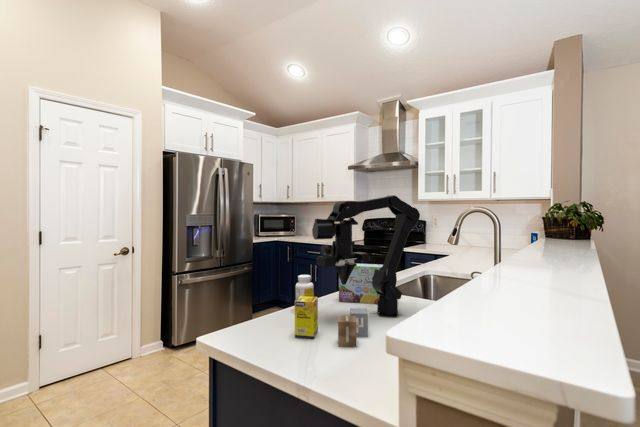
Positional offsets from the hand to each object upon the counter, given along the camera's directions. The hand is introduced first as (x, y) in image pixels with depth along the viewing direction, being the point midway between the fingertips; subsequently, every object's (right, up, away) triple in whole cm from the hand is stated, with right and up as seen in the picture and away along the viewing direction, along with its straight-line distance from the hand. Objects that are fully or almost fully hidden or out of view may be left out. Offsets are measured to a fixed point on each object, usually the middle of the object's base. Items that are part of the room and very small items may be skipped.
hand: (343, 284), depth 117 cm
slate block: (+4, -12, -12) cm, 18 cm away
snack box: (+10, -12, +21) cm, 26 cm away
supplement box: (-12, -13, -13) cm, 22 cm away
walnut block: (0, -13, -19) cm, 23 cm away
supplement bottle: (-14, -12, +11) cm, 21 cm away
